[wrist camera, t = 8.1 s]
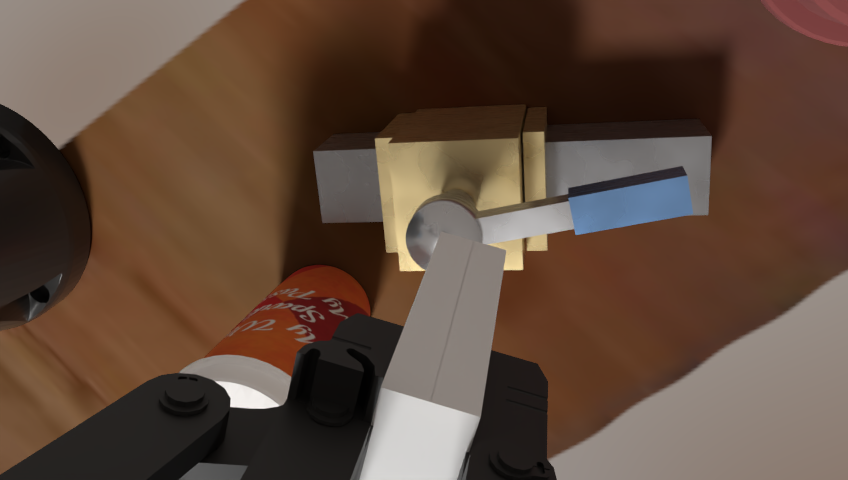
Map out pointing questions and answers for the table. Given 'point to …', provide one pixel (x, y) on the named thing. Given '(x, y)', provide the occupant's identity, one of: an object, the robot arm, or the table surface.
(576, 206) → the lever
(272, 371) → the coffee cup
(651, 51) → the table surface
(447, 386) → the robot arm
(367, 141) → the pipe
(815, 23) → the mechanical component
